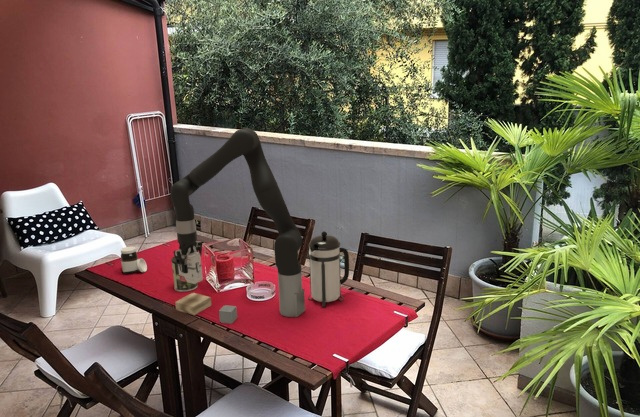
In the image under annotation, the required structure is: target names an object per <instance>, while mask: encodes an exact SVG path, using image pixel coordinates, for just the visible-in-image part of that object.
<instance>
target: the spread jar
mask: <svg viewBox="0 0 640 417" xmlns="http://www.w3.org/2000/svg"><path fill="white" fill-rule="evenodd" d="M136 250H137V249H136V247H135V246H126V247H125V246H124V247H122V248H121V249H120V253H121V254H120V263H121V269H122V272H123V274H125V275H130V274H132V275H133V274H135V273H138V272H141V273H145V272H147V270H148V266H147V262H146V261H145V259H144V258H142V257H141V258H138V252H137V251H136Z"/></svg>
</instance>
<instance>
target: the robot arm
mask: <svg viewBox="0 0 640 417" xmlns="http://www.w3.org/2000/svg"><path fill="white" fill-rule="evenodd" d="M263 150H264V149H263V146H262V144H261V140H260V137H259V135H258V134H257V132H256V131H255V130H253V129H252V128H250V127H247V128H246V127H244V128H240V129H237V130H236V131H234V132H233V133H232V135H231V136H230V137H229V139H228V140H226V142H224V144H223V145H222V146H220V148H219V149H218V150H216V151H215V152H214V153H213V154H212V155H210V156H208V157H207V158H206V159H204V160H203V161H202V162H200V163H199V164H198V165H197V166H195V168H193V169H192V170H191V171H190V172H189V173H188V174H187V175H185V176H184V177H182V178H181V179H179V180H177V181H176V182H175V183H173V184H172V186H171V188H170V198H171V201H172V204H173V207H174V210H175V211H174V212H175V220H176V222H175V227H176V228H175V229H176V239H177V243H178V245H179V246H178V249H177V250H173V252H172V253H173V255H174V256H175V259H176V262H177V264H180V265H181V267H182V272H183V273H188V268H187V259H188V256H189V254H191V253H193V252H198V253H200V257H202V255H203V254H202V252H203V242H202V241H198V233H197V223H196V220H195V208H194V206H193V204H191V202H190V196H192V194H194V193H195V192H197V191H198V190H199V189H200V188H201V187H202V186H204V185H205V184H207V183H208V182H209V181H211V180H212V179H213V178H215V177H216V175H218V174H219V173H220V172H221V171H222V170H223V169H224V168H225V167H227V165H229V164H230V163H232V162H233V161H234V160H236V159H237V158H240V157H241V156H243V158H244V160H245V162H246V164H247V166H248V168H249V173H250V180H251V186H252V189H253V192H254V194H255V196H256V198H257V201H258V203H259V205H260V207H261V208H262V210H263V211H264V212H265V213H266V214H267V215H268V216H269V218H271V220H272V222H273V223H274V225H275V227H276V230H277V233H278V236H277V238H276V239H274V248H273V249H274V250H273V251H274V260H275V266H276V269H277V280H278V299H279V300H278V302H279V303H278V305H279V313H280V315H281V316H284V317H287V318H288V317H289V318H290V317H291V318H293V317H295V318H298V317H299V316H300V315H302V314H303V313H304V312H306V300H305V298H306V297H305V289H304V288H303V278H302V276H303V275H302V264H301V262H299V252H298V251H299V250H300V249H301V248H302V246H303V236H302V234H301V232H300V230H299V229H298V227H297V225H296V224H295V222H294V220H293V218H292V215H291V214H290V211H289V209H288V206H287V204H286V201H285V199H284V197H283V194H282V192H281V189H280V187H279V184H278V182H277V180H276V179H275V176H274V174H273V171H272V169H271V168H270V165H269V164H268V161H267V159H266V157H265V153H264V151H263ZM182 255H186V257H184V256H182ZM174 256H173V257H174ZM183 258H184V261H183Z"/></svg>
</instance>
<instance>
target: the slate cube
mask: <svg viewBox="0 0 640 417" xmlns="http://www.w3.org/2000/svg"><path fill="white" fill-rule="evenodd" d="M237 310H238V309H237V306H236V305H227V304H225V305H223V306H222V307H220V309H219V310H218V315H219V316H218V317H219V323H220V322H221V323H222V324H230V325H231V324H233V323H235V321H236V320H237V319H238V311H237Z"/></svg>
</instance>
